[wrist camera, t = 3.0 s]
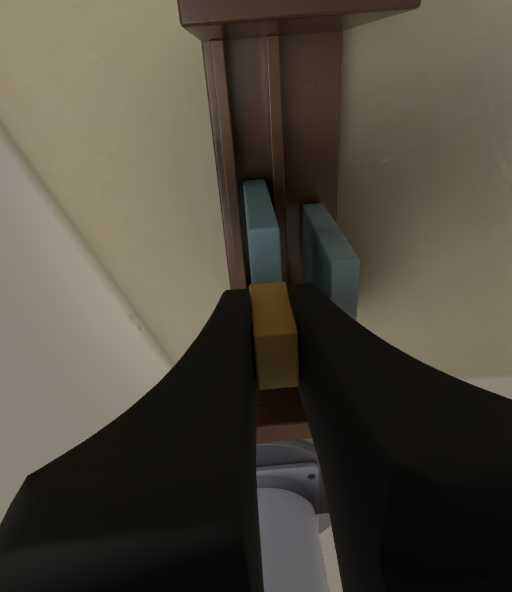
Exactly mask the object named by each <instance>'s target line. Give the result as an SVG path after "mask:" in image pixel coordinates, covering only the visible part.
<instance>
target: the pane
mask: <svg viewBox="0 0 512 592" xmlns="http://www.w3.org/2000/svg"><path fill="white" fill-rule="evenodd" d="M243 190H244V202H245V213H246V225H247V236H248V248H249V259H250V270H251V283H250V285H249V291H250V303H251V315H252V332H253V343H254V354H255V365H256V376H257V386H258V388H259V389H260V390H262V389H273V388H284V387H295V386H299V384H300V375H299V332H298V328H297V324H296V320H295V317H294V314H293V310H292V306H291V302H290V298H289V294H288V289H287V285H286V282H284V281H282V274H281V252H280V230H279V226H278V223H277V219H276V216H275V213H274V209H273V206H272V202H271V199H270V196H269V192H268V189H267V185H266V182H265V180H264V179H255V180H245V181H243Z"/></svg>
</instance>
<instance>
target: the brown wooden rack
mask: <svg viewBox="0 0 512 592" xmlns="http://www.w3.org/2000/svg"><path fill="white" fill-rule="evenodd" d="M177 3H178V11H179V18H180V24H181V26H182V27H183V28H185V29H186V30H187V31H189V32H190V33H191V34H193V35H194V36H195V37H197V38H198V39H199V40H201V43H202V51H203V60H204V68H205V77H206V85H207V94H208V102H209V111H210V119H211V128H212V136H213V145H214V153H215V161H216V170H217V178H218V187H219V195H220V204H221V212H222V221H223V229H224V238H225V246H226V255H227V263H228V272H229V280H230V288H231V290H235V289H246V288H249V285H250V283H251V270H250V259H249V248H248V236H247V225H246V213H245V202H244V190H243V181H245V180H255V179H264V180H265V182H266V185H267V189H268V192H269V196H270V199H271V202H272V206H273V209H274V213H275V216H276V219H277V223H278V226H279V230H280V252H281V274H282V281H284V282H286V285H287V289H288V285H291V284H302V283H312V284H313V285H315V286H316V287H317V288H318V289H319V290H320V291H321V292H322V293H324V294H325V295H326V296H327V297H328V298H329V299H330V300H331V301H332V302H334V303H335V304H336V305H337V306H338V307H339V308H340V309H342V310H343V311H344V312H345V313H347V314H348V315H349V316H350V317H352V318H353V319H354V320H355V321H356V318H357V302H358V287H359V271H360V259H359V257H358V256H357V254H356V253H355V251H354V250H353V248H352V247H351V245H350V244H349V242H348V241H347V239H346V238H345V236H344V235H343V233H342V232H341V230H340V228H339V227H338V225H337V224H336V219H337V185H338V151H339V117H340V83H341V49H342V30H346V29H349V28H352V27H356V26H359V25H363V24H366V23H369V22H373V21H376V20H380V19H383V18H386V17H390V16H393V15H397V14H400V13H403V12H407V11H410V10H414V9H416V8H418V7H419V6H420V3H421V0H177ZM310 438H312V435H311V432H310V428H309V425H308V422H307V418H306V415H305V412H304V408H303V405H302V401H301V398H300V394H299V391H298V388H297V386H295V387H284V388H273V389H262V390H260V389H259V388H258V395H257V435H256V443H267V442H278V441H289V440H299V439H310Z"/></svg>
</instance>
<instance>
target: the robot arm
mask: <svg viewBox="0 0 512 592" xmlns="http://www.w3.org/2000/svg"><path fill="white" fill-rule="evenodd" d="M288 294H289V298H290V302H291V306H292V310H293V314H294V317H295V320H296V324H297V328H298V332H299V375H300V384H299V386H297V388H298V391H299V394H300V398H301V401H302V405H303V408H304V412H305V415H306V418H307V422H308V425H309V428H310V432H311V435H312V439H313V442H314V445H315V449H316V452H317V456H318V460H319V464H320V468H321V473H322V478H323V483H324V488H325V494H326V499H327V504H328V510H329V515H330V521H331V526H332V532H333V537H334V542H335V548H336V553H337V559H338V565H339V571H340V577H341V582H342V588H343V592H512V399H509V398H506V397H503V396H500V395H498V394H495V393H492V392H490V391H487V390H484V389H482V388H479V387H476V386H474V385H472V384H469V383H467V382H464V381H462V380H459V379H457V378H455V377H453V376H450V375H448V374H446V373H444V372H442V371H440V370H437V369H435V368H433V367H431V366H429V365H427V364H425V363H423V362H421V361H419V360H417V359H415V358H413V357H411V356H410V355H408V354H406V353H404V352H403V351H401V350H399V349H397V348H396V347H394V346H392V345H390V344H389V343H387V342H386V341H384V340H382V339H381V338H379V337H378V336H376V335H375V334H374V333H372V332H371V331H369V330H368V329H366V328H365V327H363V326H362V325H361V324H359V323H358V322H357V321H355V320H354V319H353V318H352V317H350V316H349V315H348V314H347V313H345V312H344V311H343V310H342V309H340V308H339V307H338V306H337V305H336V304H335V303H334V302H332V301H331V300H330V299H329V298H328V297H327V296H326V295H325V294H324V293H322V292H321V291H320V290H319V289H318V288H317V287H316V286H315V285H313V284H312V283H302V284H291V285H288ZM257 395H258V386H257V376H256V365H255V354H254V343H253V332H252V315H251V303H250V291H249V288H246V289H235V290H226V291H225V292H224V293H223V294H222V296H221V298H220V300H219V302H218V304H217V306H216V308H215V310H214V311H213V313H212V315H211V317H210V318H209V320H208V321H207V323H206V324H205V326H204V328H203V329H202V331H201V332H200V334H199V335H198V337H197V338H196V339H195V341H194V342H193V343H192V345H191V346H190V347H189V348H188V350H187V351H186V352H185V354H184V355H183V356H182V357H181V359H180V360H179V361H178V362H177V363H176V365H175V366H174V367H173V368H172V369H171V370H170V371H169V372H168V373H167V374H166V375H165V376H164V378H163V379H162V380H161V381H160V382H159V383H158V384H157V385H156V386H154V387H153V388H152V389H151V390H150V391H149V392H147V393H146V394H145V395H144V396H143V397H142V398H141V399H140V400H139V401H137V402H136V403H135V404H134V405H133V406H132V407H130V408H129V409H128V410H127V411H125V412H124V413H123V414H121V415H120V416H119V417H118V418H116V419H115V420H114V421H112V422H111V423H110V424H108V425H107V426H105V427H104V428H103V429H101V430H100V431H98V432H97V433H95V434H94V435H93V436H91V437H90V438H89V439H87V440H85V441H84V442H82V443H81V444H79V445H77V446H76V447H74V448H73V449H71V450H69V451H68V452H66V453H65V454H63V455H61V456H60V457H58V458H57V459H55V460H53V461H52V462H50V463H48V464H47V465H45V466H44V467H42V468H40V469H39V470H37V471H35V472H34V473H32V474H30V475H28V476H27V477H26V479H25V481H24V483H23V484H22V486H21V488H20V490H19V491H18V493H17V494H16V496H15V498H14V499H13V501H12V503H11V504H10V506H9V508H8V510H7V512H6V514H5V517H4V518H3V520H2V522H1V524H0V592H330V591H329V587H328V580H327V575H326V570H325V565H324V559H323V554H322V548H321V543H320V538H319V467H318V464H317V463H315V462H304V463H294V464H283V465H273V466H262V467H256V435H257Z"/></svg>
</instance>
